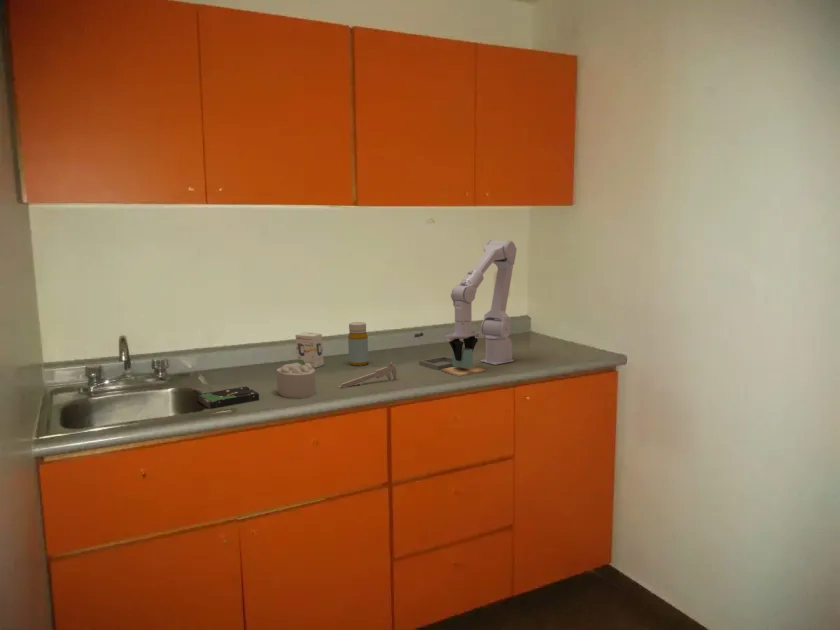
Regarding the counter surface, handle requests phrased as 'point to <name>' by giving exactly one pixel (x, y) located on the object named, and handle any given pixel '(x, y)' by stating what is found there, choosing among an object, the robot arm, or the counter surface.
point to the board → (463, 370)
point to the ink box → (309, 349)
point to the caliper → (373, 376)
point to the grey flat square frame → (434, 366)
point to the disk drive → (228, 397)
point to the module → (463, 358)
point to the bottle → (358, 344)
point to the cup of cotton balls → (296, 380)
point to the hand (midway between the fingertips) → (463, 359)
